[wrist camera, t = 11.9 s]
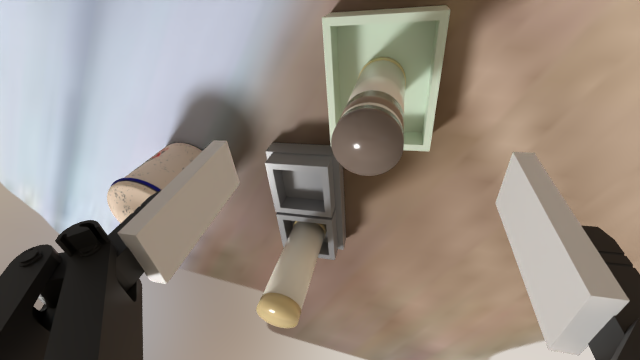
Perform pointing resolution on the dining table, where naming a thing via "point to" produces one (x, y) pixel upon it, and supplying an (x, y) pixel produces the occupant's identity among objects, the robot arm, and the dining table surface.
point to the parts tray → (395, 42)
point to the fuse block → (308, 191)
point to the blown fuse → (372, 120)
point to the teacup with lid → (149, 178)
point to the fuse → (292, 275)
